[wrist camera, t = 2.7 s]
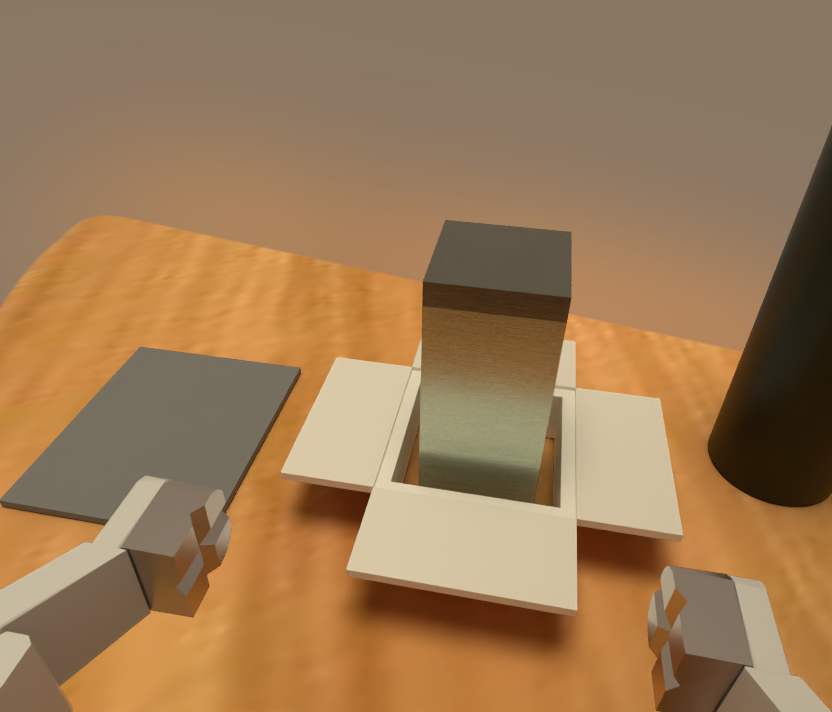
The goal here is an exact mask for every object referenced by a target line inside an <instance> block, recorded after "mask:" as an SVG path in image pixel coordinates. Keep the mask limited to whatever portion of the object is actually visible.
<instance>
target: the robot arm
mask: <svg viewBox="0 0 832 712" xmlns="http://www.w3.org/2000/svg"><path fill="white" fill-rule="evenodd" d="M225 502H226V501H225V498H224V494H223V491H222V490H219V489H213V488H208V487H203V486H198V485H193V484H188V483H183V482H178V481H173V480H168V479H162V478H157V477H151V476H144V477H143V478H141V479H140V480H138V481H137V482H136V484H135V485H134V486H133V488H132V489H131V490H130V492H129V493H128V495H127V496H126V497H125V499H124V500H123V501H122V503H121V504H120V506H119V507H118V508H117V510H116V511H115V512H114V514H113V515H112V516H111V518H110V519H109V521H108V522H107V523H106V525H105V526H104V527H103V529H102V530H101V532H100V533H99V534H98V536H97V537H96V538H95V540H94V541H93V542H92V543H88V542H84V543H82V544H80V545H79V546H77V547H75V548H73V549H72V550H70V551H68V552H66V553H65V554H63V555H61V556H59V557H58V558H56V559H54V560H52V561H51V562H49V563H47V564H45V565H44V566H42V567H40V568H38V569H36V570H35V571H33V572H31V573H29V574H28V575H26V576H24V577H22V578H21V579H19V580H17V581H15V582H14V583H12V584H10V585H8V586H7V587H5V588H3V589H1V590H0V712H73V708H72V705H71V703H70V702H69V700H68V699H67V697H66V695H65V694H64V692H63V690H62V689H61V687H60V686H61V685H62V684H63V683H64V682H66V681H67V680H68V679H69V678H71V677H72V676H73V675H74V674H76V673H77V672H78V671H79V670H80V669H82V668H83V667H84V666H85V665H87V664H88V663H89V662H90V661H92V660H93V659H94V658H95V657H97V656H98V655H99V654H100V653H102V652H103V651H104V650H105V649H106V648H108V647H109V646H110V645H111V644H113V643H114V642H115V641H116V640H118V639H119V638H120V637H121V636H123V635H124V634H125V633H126V632H128V631H129V630H130V629H131V628H132V627H134V626H135V625H136V624H137V623H139V622H140V621H141V620H142V619H144V618H145V617H146V616H147V615H149V614H150V610H152V611H158V612H164V613H170V614H176V615H182V616H187V617H194V615H195V613H196V611H197V610H198V608H199V606H200V604H201V602H202V600H203V598H204V596H205V594H206V592H207V590H208V588H209V581H208V577H207V574H209V573H210V572H212V571H213V570H215V569H216V568H218V567H219V566H220V565H221V563H222V561H223V559H224V557H225V555H226V553H227V549H228V545H229V542H230V538H231V524H230V519H229V517H228V516H227V515H226V514H225V513H224V512H223V511H222V508H223V506H224V504H225ZM660 578H661V586H662V589H661V590H659V591H657V592H654V594H653V597H652V600H651V602H650V606H649V613H648V643H649V648H650V649H651V650H652V652H653V653H654V654H655V656H656V657H657V661H656V663H655V665H654V667H653V669H652V681H653V690H654V699H655V708H656V711H660V712H831V711H830V709H829V708H828V707H827V706H826V705H825V704H824V703H823V702H822V700H821V699H820V698H819V697H818V696H817V695H816V694H815V693H814V691H813V690H812V689H811V688H810V687H809V686H808V685H807V684H806V682H805V681H804V680H803V679H802V678H801V677H798V676H794V675H791V673H790V670H789V666H788V663H787V659H786V656H785V652H784V649H783V645H782V642H781V638H780V635H779V632H778V628H777V625H776V621H775V618H774V614H773V611H772V607H771V604H770V600H769V597H768V593H767V590H766V587H765V586H764V584H763V583H762V582H761V581H759V580H754V579H747V578H741V577H735V576H728V575H727V574H722V573H715V572H709V571H702V570H696V569H690V568H683V567H677V566H670V565H668V566H667V567H666V568H664V570H663V573H662V575H661V577H660Z"/></svg>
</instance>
